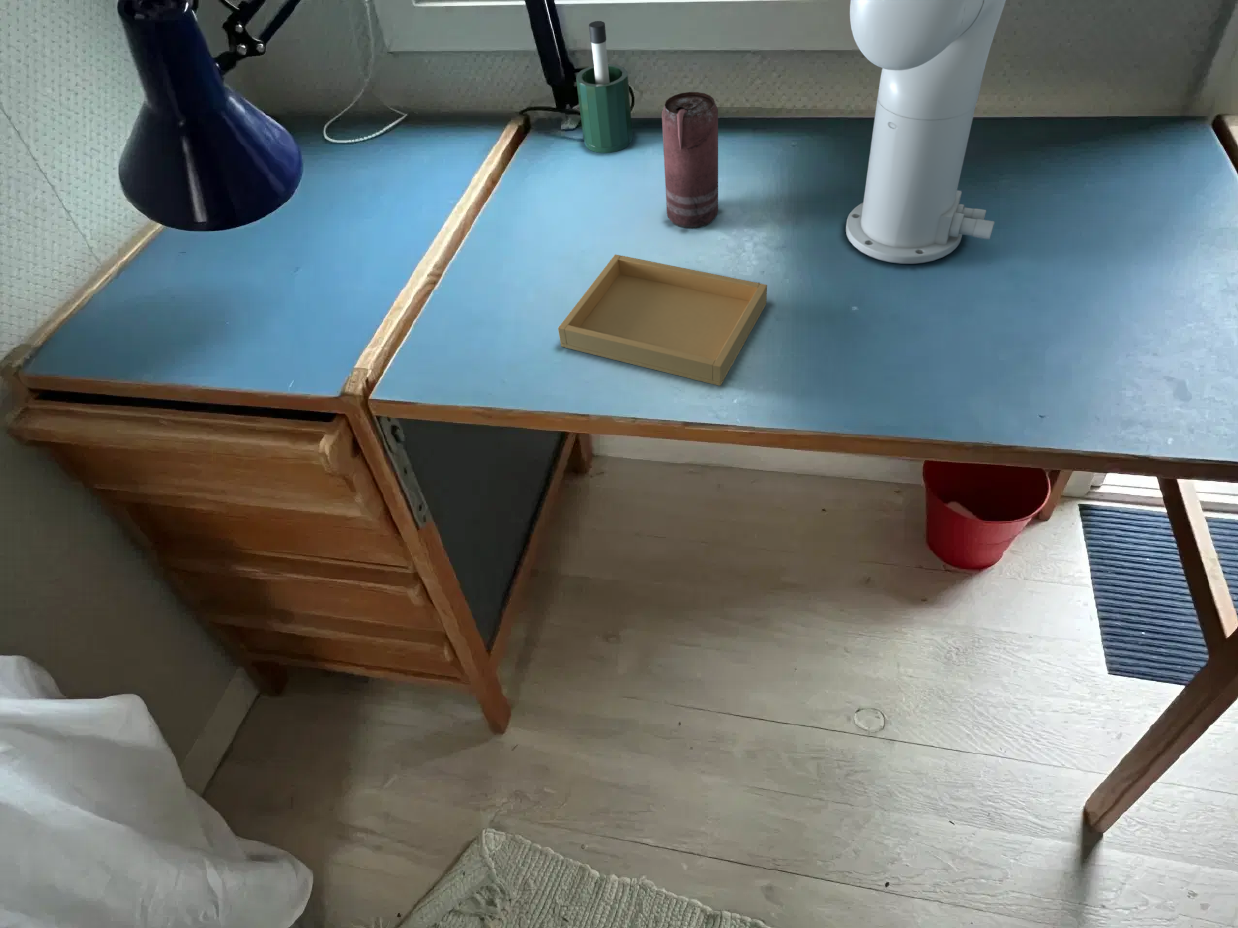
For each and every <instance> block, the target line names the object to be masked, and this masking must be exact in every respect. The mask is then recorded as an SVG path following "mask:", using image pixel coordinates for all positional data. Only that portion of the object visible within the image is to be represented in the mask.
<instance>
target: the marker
mask: <svg viewBox="0 0 1238 928" xmlns="http://www.w3.org/2000/svg"><path fill="white" fill-rule="evenodd" d="M588 31H589V32H588V33H589V41H590V43H591V52H592V60H593V61H592V62H593V66H594V71H595V81H596V85H598V84H607V83H610V81H609V71H608V64H609V60H608V52H607V51H608V50H607V32H606V31H607V30H606V23H605V22H604V21H602V20H595V21H592V22H590V23H589V24H588Z"/></svg>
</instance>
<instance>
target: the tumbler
mask: <svg viewBox="0 0 1238 928" xmlns="http://www.w3.org/2000/svg"><path fill="white" fill-rule="evenodd" d="M608 71H609V81H610V83H607V84H598V85H596V81H595V71H594V65H590V66H588V67H585V68H583V69H581V70H580V71H579V72H578V73H577V74H576V79H575V80H576V89H577V96H578V106H579V113H580V121H581V130H582V139H583V143H584V146H585V148H586V149H588V150H589V151H590V152H591V151H592V152H594V153H599V154H610V153H615V152H619V151H622V150H624V149H626V148H627V147H629V146H630V145H631V144H632V142H633V124H632V123H633V121H632V112H631V111H632V110H631V99H630V98H631V97H630V86H629V85H630V84H629V72H628V70H627V69H626V68H625V66H621V65H619V64H614V63H608Z"/></svg>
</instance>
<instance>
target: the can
mask: <svg viewBox="0 0 1238 928" xmlns="http://www.w3.org/2000/svg"><path fill="white" fill-rule="evenodd" d="M661 123H662V124H661V125H662V143H663V144H662V145H663V147H662V148H663V164H664V182H665V184H664V185H665V205H666V216H667V219H669V220H670V222H671V223H672V224H673V225H674V226H676V227H678V228H683V229H690V230H691V229H693V230H694V229H700V228H703V227H707V226H708V225H710V224H711V223H712V222H713V221H714V220H715V219H716V217H717V216H718V213H719V108H718V106H717V104H716V102H715V99H714V97H712V96H711V95H710V94H707V93H704V92H700V91H687V92H680V93H676V94H674V95H672V96H670V97H669V98H667V100H665V102H664V106H663V109H662V111H661Z"/></svg>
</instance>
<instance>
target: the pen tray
mask: <svg viewBox="0 0 1238 928" xmlns="http://www.w3.org/2000/svg"><path fill="white" fill-rule="evenodd" d="M767 299H768V284H765V283H760V282H755V281H751V280H745V279H741V278H735V277H731V276H726V275H720V274H717V273H716V274H715V273H710V272H705V271H700V270H697V269H692V268H686V267H681V266H675V265H672V264H671V265H670V264H666V263H661V262H657V261H656V262H655V261H652V260H651V261H650V260H646V259H641V258H635V257H631V256H626V255H621V254H616V253H615V254H614V255H613V256H612V258H611V259H610V260H609V261H608V263H607V264H606V265H605V266H604V267H603V269H602V270H601V272H600V273H599V275H598V276H597V277H595V280H594V281H593V282H592V283H591V285H590V286H589V287H588V288H587V290H586V291H585V293H584V294H583V295H582V296H581V297H580V299H579V300H578V301H577V302H576V304H575V305H574V306H573V308H572V309H571V311H569V313H567V316H566V317H565V318H564V319H563V320H562V322H561V323H560V324H559V325H558V327H557V330H558V336H559V342H560V347H561V348H565V349H569V350H573V351H577V352H580V353H581V352H582V353H586V354H589V355H594V356H597V357H601V358H606V359H610V360H614V361H618V362H622V363H626V364H630V365H634V366H637V367H641V368H646V369H650V370H654V371H658V372H661V373H666V374H670V375H674V376H677V377H682V378H686V379H690V380H695V381H699V382H702V383H706V384H711V385H715V386H719V387H721V386H722V384H723V382H724V381H725V379H726V377H727V375H728V373H729V371H730V370H731V369H732V366H733V365H734V363H735V361H736V360H737V357H738V356H739V353H740V352H741V350H742V349H743V346H744V345H745V343H746V342H747V339H748V338H749V336H750V334H751V332H752V331H753V329H754V327H755V325H756V324H757V322H758V320H759V318H760V317H761V314H762V312H763V311H764V309H765V307H766V305H767Z"/></svg>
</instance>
